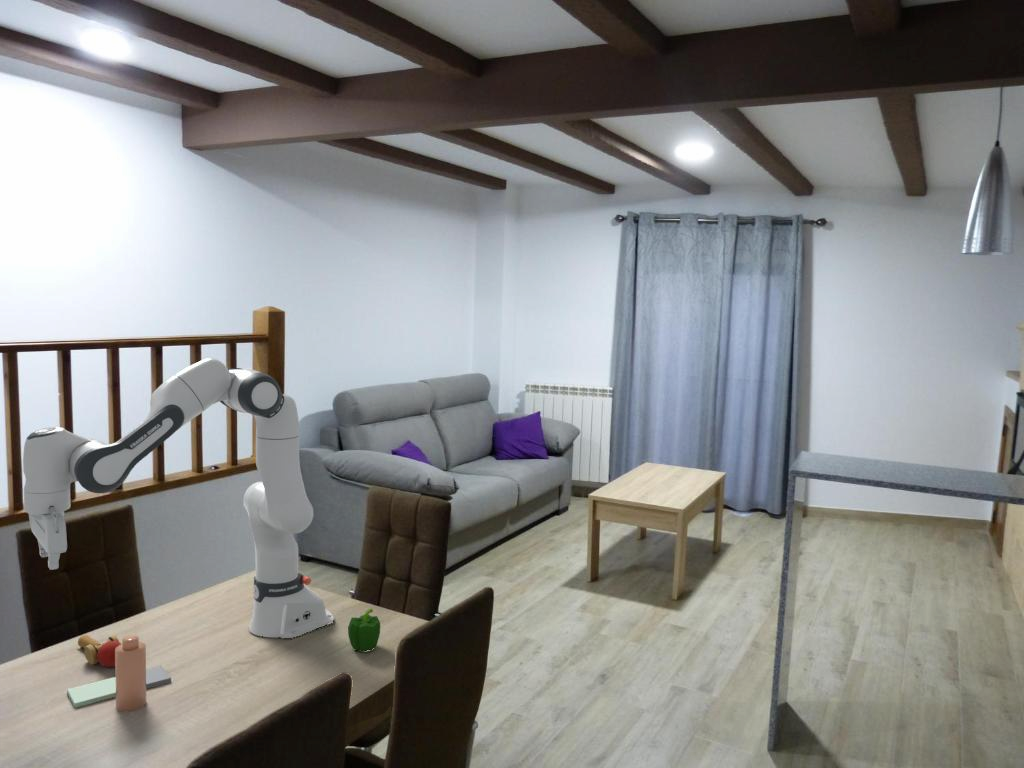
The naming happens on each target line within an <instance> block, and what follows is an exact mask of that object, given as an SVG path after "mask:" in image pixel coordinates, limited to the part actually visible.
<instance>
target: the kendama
mask: <svg viewBox="0 0 1024 768" xmlns="http://www.w3.org/2000/svg"><path fill="white" fill-rule="evenodd" d="M121 644H122V642H120V640H119V639H118V637H117V636H115V635H111V636H109V637H108V639H107V640H106V641H105V642H104V643H100V642H99V641H97V640H96V639H94V638H93V637H92V636H89V635H88V634H84V635H83V634H82V635H81V636H80V637H79V638H78V640H77V645H78V646H79V647H80V648H83V651H84V656H85V660H86V661H87V662H88V663H89V664H90V665H92V666H93V665H95V664H98V663H99V664H100V665H101V666H103V667H106V668H114V667H115V649H116V647H118V646H119V645H121Z"/></svg>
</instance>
